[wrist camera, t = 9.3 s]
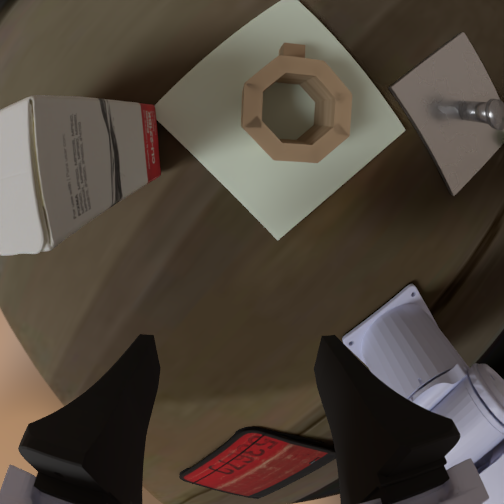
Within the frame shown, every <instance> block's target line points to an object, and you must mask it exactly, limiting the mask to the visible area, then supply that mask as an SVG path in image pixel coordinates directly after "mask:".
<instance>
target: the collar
mask: <svg viewBox="0 0 504 504" xmlns="http://www.w3.org/2000/svg"><path fill="white" fill-rule="evenodd" d="M275 82H277V83H288V84H299V85H300V86H301V87H302V88H303V89H304V90H305V92H306V93H307V94H308V95H309V96H310V97H311V98H312V99H313V101H314V102H315V112H314V125H313V126H312V127H311V128H310V129H308V130H307V131H306V132H305V133H304V134H303V135H301V136H300V137H299V138H298V139H297V140H291V139H278V138H277V137H276V135H275V134H274V133H273V132H272V131H271V130H270V129H269V128H268V127H267V126H266V125H265V124H264V123H263V122H262V104H263V92H264V91H265V90H266V89H268V88H269V87H270V86H271V85H272V84H274V83H275ZM351 111H352V93H351V92H350V91H349V89H348V88H347V87H346V86H345V85H344V83H343V82H342V81H341V80H340V79H339V77H338V76H337V75H336V74H335V73H334V72H333V70H332V69H331V68H330V67H329V66H328V65H327V64H326V62H325V61H323V60H316V59H309V58H305V45H301V44H293V43H283V45H282V46H281V48H280V49H279V56H277V57H276V58H275V59H273V60H272V61H271V62H270V63H268V64H267V65H266V66H265V67H263V68H262V69H261V70H260V71H258V72H257V73H256V74H255V75H253V76H252V77H251V78H250V79H249V80H247V81H246V82H245V83H244V87H243V90H242V108H241V127H242V128H243V129H244V130H245V131H246V132H247V133H248V134H249V135H250V136H251V137H252V138H253V139H254V140H255V142H256V143H257V144H258V145H259V146H260V147H261V148H262V149H263V150H264V151H265V152H266V153H267V154H268V155H269V156H270V157H271V158H272V159H273V160H275V161H293V162H308V163H319V162H320V161H321V160H322V159H323V158H325V157H326V156H327V155H328V154H329V153H330V152H332V151H333V150H334V149H335V148H336V147H337V146H339V145H340V144H341V143H342V142H343V141H345V140H346V139H347V138H348V137H349V136H350V125H351Z"/></svg>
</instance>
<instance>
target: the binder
mask: <svg viewBox="0 0 504 504" xmlns="http://www.w3.org/2000/svg"><path fill="white" fill-rule="evenodd" d="M311 443H324V442H322V441H318V440H313V439H309V438H304V437H299V436H294V435H290V434H285V433H281V432H276V431H272V430H267V429H263V428H259V427H245V428H242V429H239V430H238V431H236V433H235V434H234V435H233V436H232V437H231V438H230V439H229V440H228V441H227V442H226V443H225V444H224V445H223V446H221V447H220V448H218V449H217V450H216V451H215V452H213V453H212V454H211V455H209V456H207V457H206V458H205V459H203V460H202V461H201V462H199V463H198V464H196V465H195V466H193V467H192V468H187V469H185V470H183V471H181V472H180V476H179V477H180V479H181V480H183V481H186V482H189V483H192V484H196V485H200V486H203V487H206V488H210V489H213V490H217V491H221V492H225V493H230V494H234V495H239V496H244V497H248V498H256V499H259V498H261V497H264V496H266V495H268V494H270V493H272V492H274V491H276V490H279V489H281V488H283V487H285V486H287V485H289V484H291V483H292V482H294V481H296V480H298V479H300V478H302V477H304V476H306V475H308V474H310V473H312V472H313V471H315V470H317V469H319V468H320V467H322V466H324V465H326V464H327V463H329V462H331V461H332V460H334V459H336V454H335V448H333V449H327V448H322V446H317V445H311Z"/></svg>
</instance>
